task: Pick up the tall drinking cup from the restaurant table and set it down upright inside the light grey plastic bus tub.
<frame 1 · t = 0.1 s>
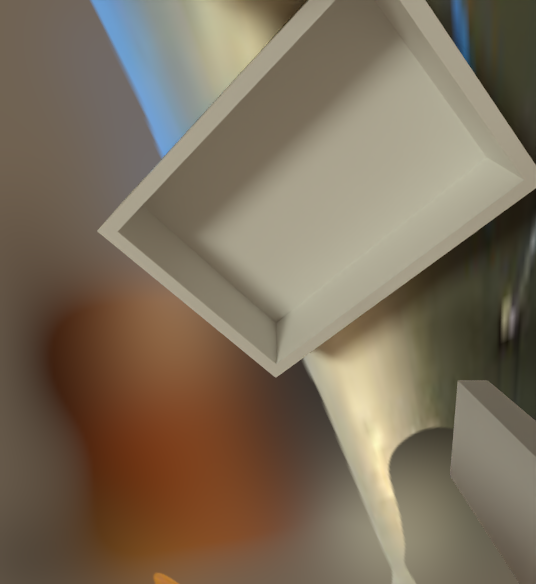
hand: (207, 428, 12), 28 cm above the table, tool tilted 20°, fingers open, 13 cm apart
bus tub: (307, 177, 37), on the table
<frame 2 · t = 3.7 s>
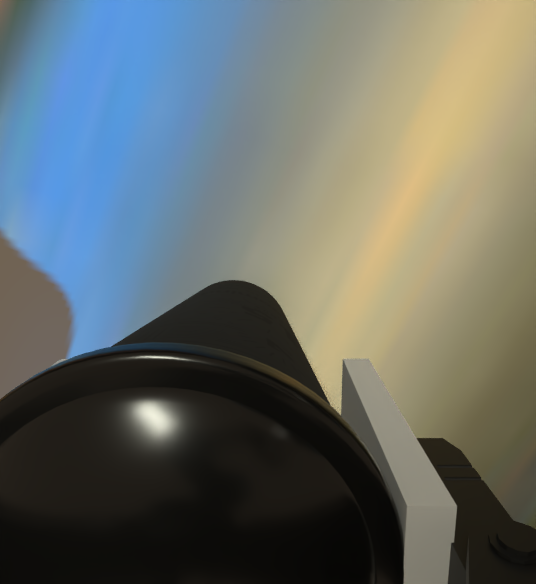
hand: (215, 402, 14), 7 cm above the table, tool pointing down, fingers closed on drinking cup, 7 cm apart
drinking cup: (235, 331, 21), on the table, touching gripper
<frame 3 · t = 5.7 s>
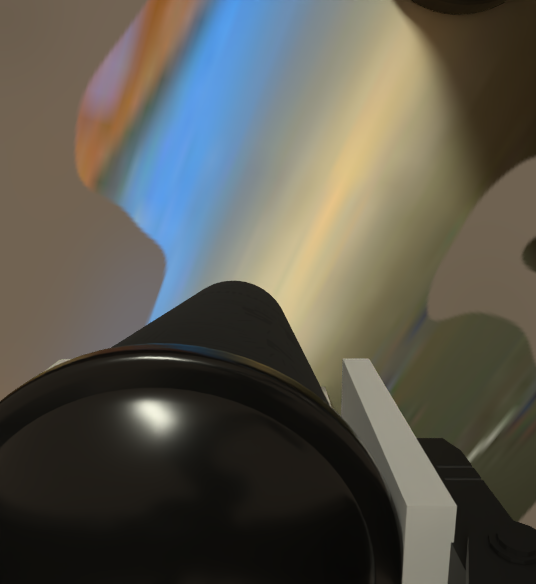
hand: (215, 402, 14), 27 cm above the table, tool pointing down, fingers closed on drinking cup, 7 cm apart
drinking cup: (235, 332, 21), point 20 cm above the table, touching gripper
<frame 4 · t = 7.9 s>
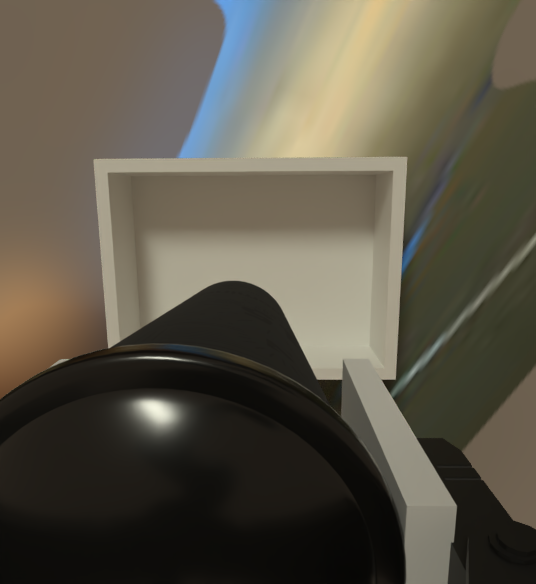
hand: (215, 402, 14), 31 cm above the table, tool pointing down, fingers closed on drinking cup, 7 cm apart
bus tub: (254, 262, 44), on the table
drinking cup: (235, 332, 21), point 23 cm above the table, touching gripper
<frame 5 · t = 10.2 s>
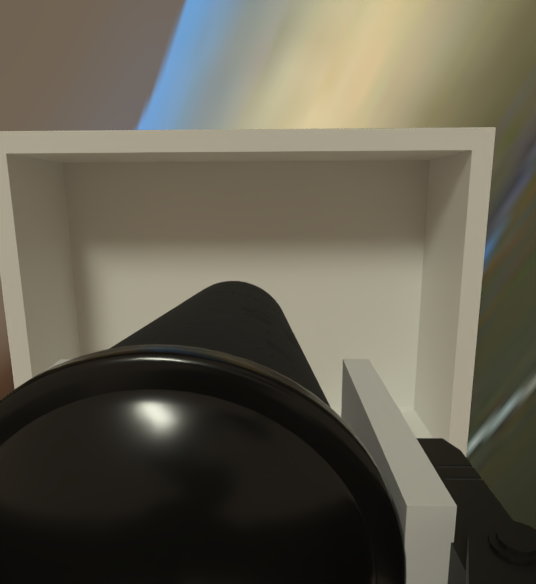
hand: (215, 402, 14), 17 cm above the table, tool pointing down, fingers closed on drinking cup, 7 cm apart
bus tub: (248, 289, 30), on the table
drinking cup: (235, 332, 21), point 10 cm above the table, touching gripper
when the fingers open (10 cm above the table, at t = 12.1 s): drinking cup drops 1 cm, resting on bus tub.
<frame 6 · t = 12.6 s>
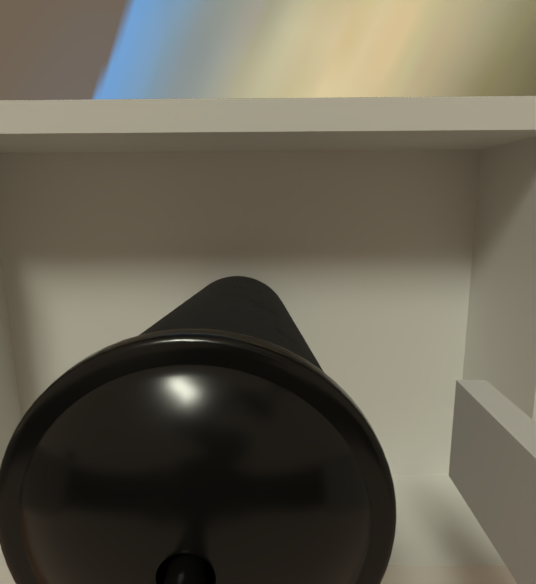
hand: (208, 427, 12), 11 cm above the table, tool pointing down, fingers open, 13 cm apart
bus tub: (238, 318, 23), on the table
drinking cup: (238, 324, 22), point 1 cm above the table, touching bus tub
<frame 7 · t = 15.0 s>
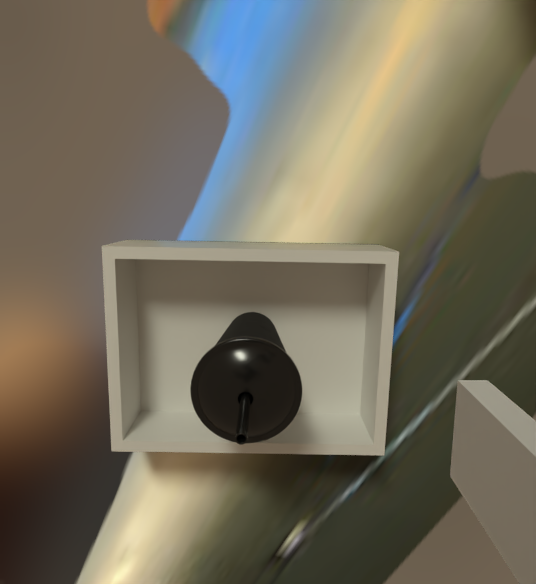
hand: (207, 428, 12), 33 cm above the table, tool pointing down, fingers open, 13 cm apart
bus tub: (252, 332, 46), on the table
drinking cup: (252, 335, 45), point 1 cm above the table, touching bus tub
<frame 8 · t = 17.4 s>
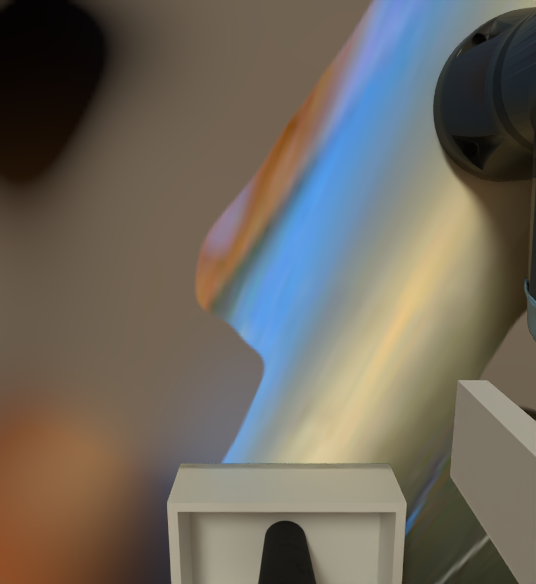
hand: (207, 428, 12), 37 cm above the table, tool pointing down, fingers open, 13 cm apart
bus tub: (284, 532, 55), on the table
drinking cup: (285, 537, 54), point 1 cm above the table, touching bus tub
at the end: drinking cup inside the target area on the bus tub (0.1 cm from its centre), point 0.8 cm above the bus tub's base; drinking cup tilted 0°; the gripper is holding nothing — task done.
